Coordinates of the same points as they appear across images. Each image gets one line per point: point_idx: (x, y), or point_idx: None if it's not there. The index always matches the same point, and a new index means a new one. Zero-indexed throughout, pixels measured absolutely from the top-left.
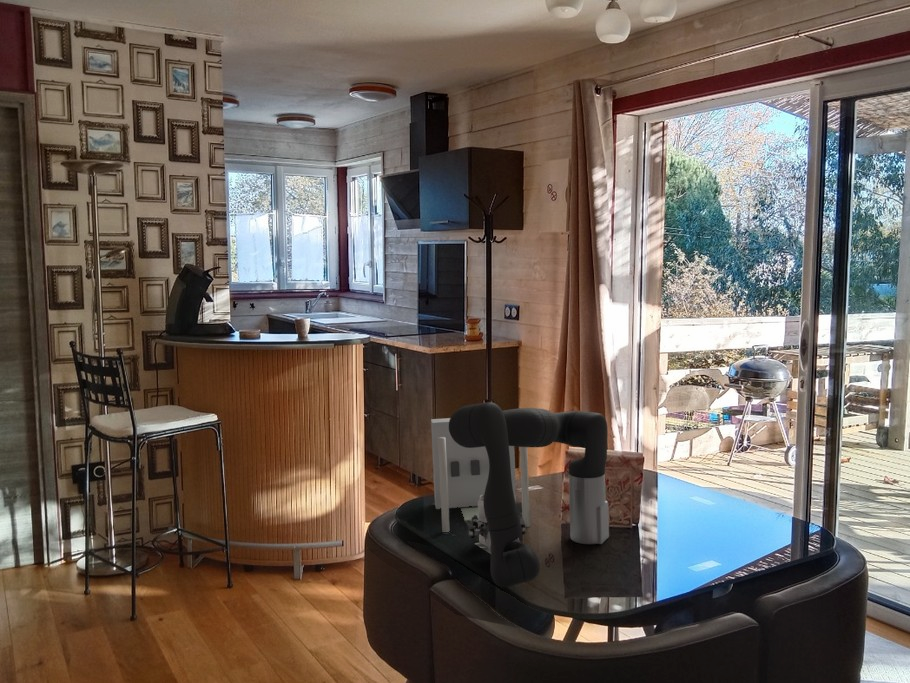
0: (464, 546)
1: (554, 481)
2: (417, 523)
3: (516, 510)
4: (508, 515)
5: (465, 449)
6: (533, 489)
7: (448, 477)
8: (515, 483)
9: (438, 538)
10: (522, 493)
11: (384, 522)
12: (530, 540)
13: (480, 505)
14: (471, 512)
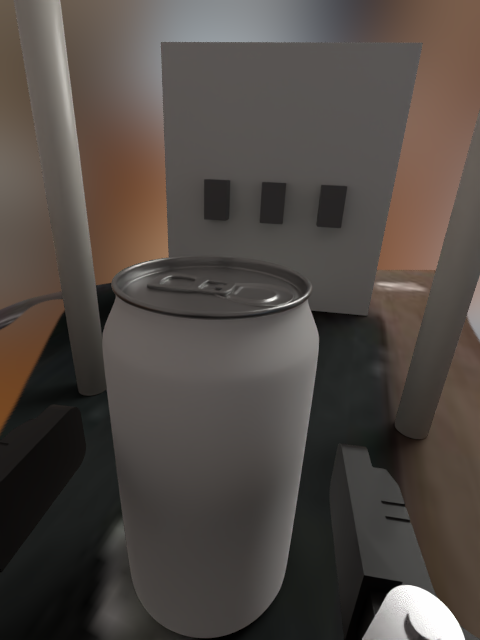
0: (29, 555)
1: None
2: None
3: None
4: None
5: (252, 145)
6: (405, 289)
7: (201, 223)
8: (377, 265)
9: (20, 421)
10: (440, 293)
11: (9, 309)
12: (472, 623)
13: (103, 337)
14: None
